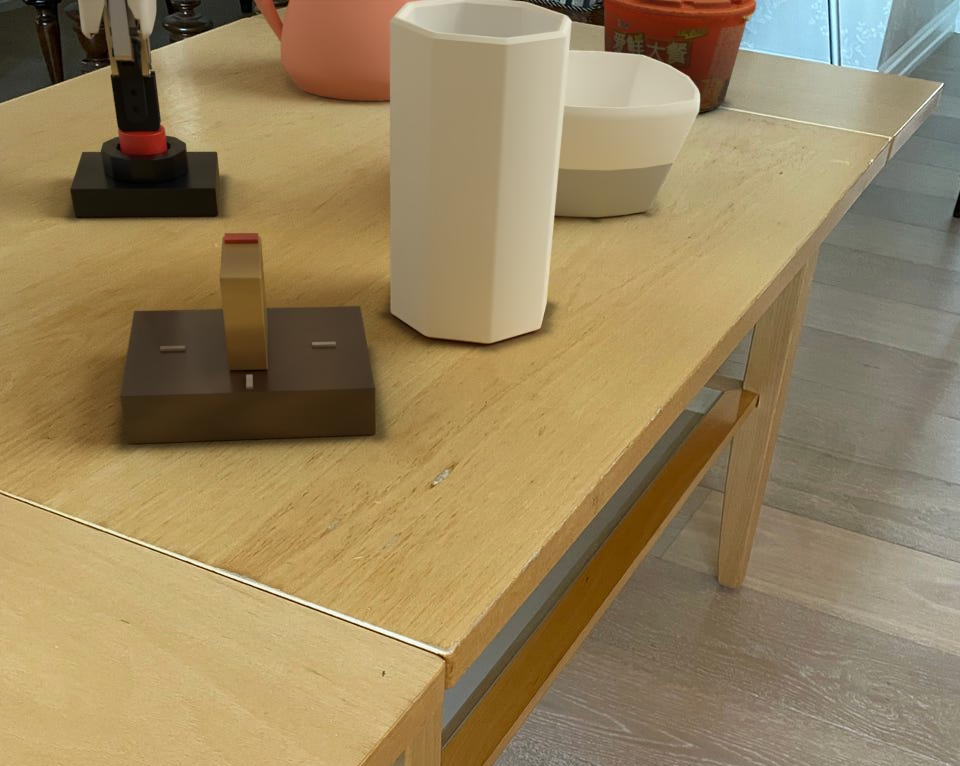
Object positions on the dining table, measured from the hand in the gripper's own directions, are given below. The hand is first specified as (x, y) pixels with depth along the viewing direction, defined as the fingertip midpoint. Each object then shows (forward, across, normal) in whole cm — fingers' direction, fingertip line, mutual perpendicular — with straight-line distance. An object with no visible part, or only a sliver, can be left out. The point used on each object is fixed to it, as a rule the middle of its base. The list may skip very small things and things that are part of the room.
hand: (140, 127), depth 91 cm
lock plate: (+5, +34, +8) cm, 35 cm away
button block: (+5, 0, 0) cm, 5 cm away
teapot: (+5, -34, +21) cm, 40 cm away
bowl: (+5, 0, +36) cm, 37 cm away
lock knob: (+2, +34, +8) cm, 35 cm away
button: (+2, 0, 0) cm, 2 cm away
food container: (+5, -29, +52) cm, 60 cm away
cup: (+6, +23, +23) cm, 33 cm away
